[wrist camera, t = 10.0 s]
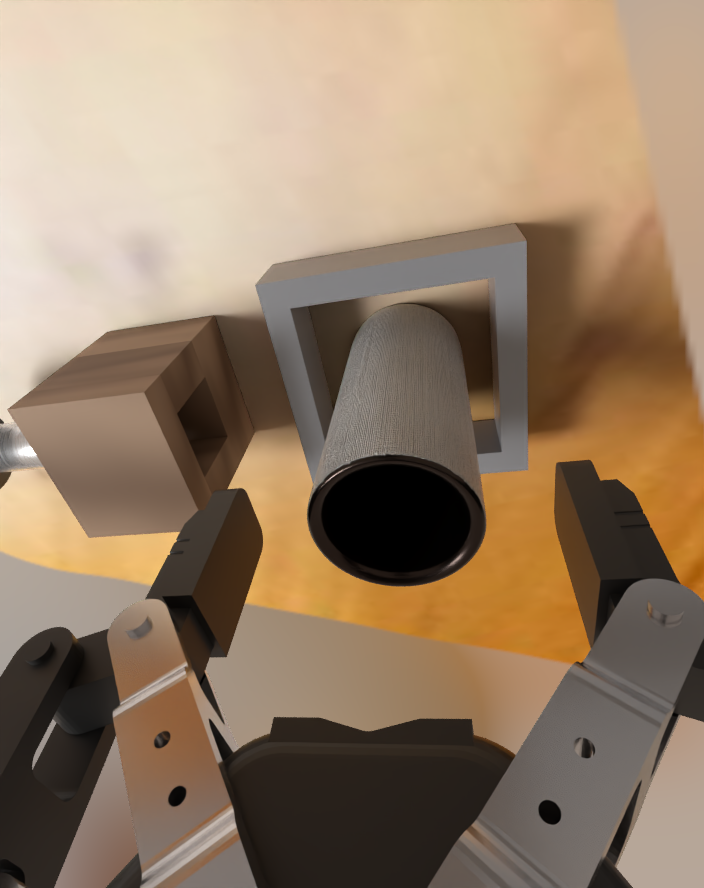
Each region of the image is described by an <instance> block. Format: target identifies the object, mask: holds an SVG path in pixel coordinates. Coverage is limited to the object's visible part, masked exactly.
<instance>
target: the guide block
mask: <svg viewBox="0 0 704 888" xmlns="http://www.w3.org/2000/svg"><path fill="white" fill-rule="evenodd" d="M7 410H8V412H9V413H10V415H11V416H12V418H13V419H14V421H15V423H16V424H17V426H18V427H19V429H20V430H21V432H22V434H23V435H24V437H25V438H26V440H27V441H28V443H29V445H30V446H31V448H32V449H33V451H34V452H35V454H36V456H37V457H38V459H39V460H40V462H41V463H42V465H43V467H44V468H45V470H46V471H47V473H48V474H49V476H50V478H51V479H52V481H53V482H54V484H55V485H56V487H57V489H58V490H59V492H60V493H61V495H62V496H63V498H64V500H65V501H66V503H67V504H68V506H69V507H70V509H71V511H72V512H73V514H74V515H75V517H76V518H77V520H78V522H79V523H80V525H81V526H82V528H83V529H84V531H85V533H86V534H87V536H88V537H89V538H91V537H106V536H121V535H136V534H152V533H167V532H181V530H182V528H183V526H184V524H185V523H186V522H187V521H188V520H189V519H190V518H191V517H192V516H193V515H194V514H195V513H196V512H197V511H198V510H205V508H206V506H207V504H208V502H209V500H210V498H211V496H212V494H213V492H214V491H216V490H227V488H228V486H229V484H230V482H231V480H232V478H233V476H234V474H235V472H236V470H237V468H238V466H239V464H240V462H241V460H242V458H243V456H244V454H245V451H246V449H247V447H248V445H249V443H250V441H251V439H252V437H253V435H254V433H255V432H254V429H253V426H252V423H251V420H250V417H249V414H248V412H247V409H246V406H245V403H244V400H243V397H242V394H241V391H240V388H239V386H238V383H237V380H236V377H235V374H234V371H233V368H232V365H231V362H230V360H229V357H228V354H227V351H226V348H225V345H224V342H223V339H222V336H221V334H220V331H219V328H218V325H217V322H216V319H215V316H208V317H201V318H195V319H188V320H182V321H175V322H169V323H162V324H156V325H149V326H143V327H136V328H130V329H123V330H117V331H110V332H107V333H105V334H104V335H103V336H102V337H100V338H99V339H98V340H96V341H95V342H94V343H92V344H91V345H90V346H89V347H87V348H86V349H85V350H83V351H82V352H81V353H80V354H78V355H77V356H76V357H74V358H73V359H72V360H71V361H69V362H68V363H67V364H65V365H64V366H63V367H62V368H60V369H59V370H58V371H56V372H55V373H54V374H52V375H51V376H50V377H49V378H47V379H46V380H45V381H43V382H42V383H41V384H40V385H38V386H37V387H36V388H34V389H33V390H32V391H31V392H29V393H28V394H27V395H25V396H24V397H23V398H22V399H20V400H19V401H18V402H16V403H15V404H14V405H12V406H11V407H10V408H9V409H7Z"/></svg>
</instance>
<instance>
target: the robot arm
mask: <svg viewBox="0 0 704 888" xmlns="http://www.w3.org/2000/svg"><path fill="white" fill-rule="evenodd" d="M554 514H555V524H556V530H557V534H558V538H559V541H560V545H561V548H562V552H563V555H564V558H565V562H566V565H567V569H568V572H569V575H570V579H571V582H572V586H573V589H574V592H575V596H576V599H577V603H578V606H579V609H580V613H581V616H582V620H583V623H584V626H585V630H586V633H587V637H588V640H589V643H590V647H591V650H590V652H589V653H588V655H587V657H586V658H585V660H584V661H583V662H582V663H580V662H575V663H574V664H573V665H572V666H571V667H570V669H569V670H568V671H567V673H566V674H565V676H564V678H563V679H562V681H561V683H560V684H559V686H558V687H557V689H556V691H555V693H554V694H553V696H552V697H551V699H550V701H549V702H548V704H547V706H546V707H545V709H544V710H543V712H542V714H541V715H540V717H539V718H538V720H537V722H536V723H535V725H534V727H533V728H532V730H531V732H530V733H529V735H528V736H527V738H526V740H525V741H524V743H523V745H522V746H521V748H520V750H519V751H518V753H517V754H516V755H515V754H514V753H512V752H511V751H509V750H508V749H506V748H504V747H503V746H501V745H499V744H497V743H495V742H492V741H490V740H488V739H486V738H483V737H479V736H475V735H474V733H473V725H472V719H417V720H413V721H410V722H406V723H402V724H398V725H394V726H390V727H386V728H383V729H379V730H375V731H369V732H368V731H362V730H359V729H355V728H352V727H349V726H345V725H342V724H338V723H335V722H332V721H329V720H326V719H322V718H297V717H293V718H292V717H290V718H289V717H287V718H286V717H274V719H273V724H272V728H271V732H270V734H267V735H264V736H262V737H259V738H257V739H254V740H253V741H251V742H249V743H247V744H245V745H243V746H242V747H241V748H239V747H238V745H237V743H236V741H235V739H234V737H233V735H232V733H231V730H230V728H229V725H228V723H227V720H226V718H225V715H224V713H223V710H222V708H221V705H220V703H219V700H218V697H217V695H216V692H215V690H214V687H213V685H212V682H211V680H210V677H209V675H208V673H207V671H206V666H207V663H208V661H209V658H210V657H227V654H228V651H229V648H230V645H231V642H232V639H233V636H234V633H235V630H236V627H237V624H238V621H239V618H240V615H241V612H242V609H243V606H244V603H245V600H246V597H247V594H248V591H249V588H250V585H251V582H252V579H253V576H254V573H255V570H256V567H257V564H258V561H259V558H260V555H261V552H262V547H263V535H262V530H261V527H260V524H259V522H258V519H257V517H256V514H255V512H254V509H253V507H252V505H251V502H250V500H249V497H248V495H247V493H246V491H245V490H244V489H242V488H239V489H227V490H216V491H214V492H213V494H212V496H211V498H210V500H209V502H208V504H207V506H206V508H205V510H198V511H197V512H196V513H195V514H194V515H193V516H192V517H191V518H190V519H189V520H188V521H187V522H186V523H185V524H184V526H183V528H182V530H181V532H180V534H179V535H178V537H177V539H176V540H177V542H175V543H174V545H173V547H172V549H171V551H170V555H168V557H167V558H166V560H165V562H164V564H163V566H162V568H161V570H160V572H159V574H158V576H157V578H156V579H155V581H154V583H153V585H152V587H151V589H150V591H149V593H148V595H147V597H146V599H145V600H142V601H139V602H136V603H134V604H132V605H130V606H129V607H127V608H126V609H125V610H123V611H122V612H121V613H120V614H119V615H118V616H117V617H116V618H115V619H114V621H113V622H112V624H111V626H110V628H109V629H106V630H103V631H100V632H97V633H94V634H91V635H88V636H85V637H82V638H79V639H76V638H75V636H74V635H73V634H72V633H71V632H70V631H69V630H68V629H66V628H63V627H55V628H51V629H47V630H45V631H42V632H40V633H38V634H37V635H35V636H34V637H32V638H31V639H29V640H28V641H27V642H26V643H25V644H24V645H22V647H21V648H20V649H19V650H18V651H17V652H16V654H15V655H14V656H13V658H12V660H11V661H10V663H9V664H8V666H7V667H6V669H5V670H4V672H3V674H2V675H1V677H0V888H54V886H55V884H56V881H57V879H58V876H59V874H60V871H61V869H62V867H63V864H64V862H65V859H66V857H67V854H68V852H69V849H70V847H71V844H72V842H73V840H74V837H75V835H76V832H77V830H78V827H79V825H80V822H81V820H82V817H83V815H84V812H85V810H86V808H87V805H88V803H89V800H90V798H91V795H92V793H93V790H94V788H95V785H96V783H97V780H98V778H99V776H100V773H101V770H102V768H103V766H104V763H105V761H106V758H107V756H108V754H109V751H110V749H111V746H112V744H113V741H114V739H115V736H116V737H117V742H118V748H119V753H120V758H121V763H122V769H123V774H124V780H125V785H126V790H127V795H128V800H129V806H130V811H131V817H132V821H133V827H134V832H135V837H136V843H137V848H138V854H137V855H136V856H135V857H134V858H133V859H132V860H131V861H130V862H129V863H128V864H127V865H126V866H125V868H124V869H123V870H122V871H121V872H120V873H119V874H118V875H117V876H116V877H115V878H114V879H113V880H112V882H111V883H110V884H109V885H108V886H107V887H106V888H633V887H632V886H631V885H630V884H629V883H628V881H627V880H626V879H625V878H624V877H623V876H622V874H621V873H620V872H619V871H618V870H617V868H616V867H617V865H618V863H619V861H620V858H621V856H622V853H623V851H624V849H625V847H626V844H627V842H628V840H629V837H630V835H631V833H632V830H633V828H634V826H635V823H636V821H637V818H638V816H639V813H640V811H641V808H642V805H643V803H644V800H645V797H646V794H647V792H648V789H649V787H650V785H651V782H652V780H653V777H654V775H655V773H656V771H657V768H658V766H659V764H660V761H661V759H662V757H663V755H664V752H665V750H666V748H667V745H668V743H669V741H670V738H671V736H672V734H673V732H674V729H675V727H676V725H677V722H678V720H679V718H680V716H681V715H682V716H686V717H689V718H693V719H696V720H700V721H703V722H704V602H703V600H702V599H701V598H700V597H699V596H698V595H697V594H695V593H694V592H693V591H692V590H690V589H688V588H687V587H685V586H683V585H681V584H680V582H679V581H678V579H677V577H676V575H675V573H674V571H673V569H672V567H671V565H670V563H669V561H668V559H667V557H666V555H665V553H664V551H663V550H662V548H661V546H660V544H659V542H658V540H657V538H656V536H655V534H654V532H653V530H652V528H650V524H649V522H648V520H647V518H646V516H645V514H643V510H642V508H641V506H640V504H639V502H638V500H637V498H636V496H635V494H634V493H633V492H632V491H631V490H629V489H628V488H627V487H626V486H625V485H623V484H622V483H621V482H620V481H618V480H617V479H615V480H602V481H600V479H599V477H598V475H597V472H596V470H595V468H594V465H593V463H592V462H591V460H582V461H570V462H558V463H557V464H556V474H555V505H554ZM52 719H54V720H55V722H56V725H55V727H54V729H53V731H52V733H51V735H50V737H49V739H48V741H47V743H46V745H45V747H44V749H43V751H42V752H41V754H40V756H39V758H38V760H37V762H36V764H35V766H34V768H33V770H32V761H33V757H34V754H35V752H36V750H37V748H38V746H39V744H40V742H41V740H42V738H43V736H44V734H45V732H46V730H47V728H48V727H49V724H50V723H51V721H52Z"/></svg>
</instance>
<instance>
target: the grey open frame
mask: <svg viewBox="0 0 704 888" xmlns="http://www.w3.org/2000/svg"><path fill="white" fill-rule="evenodd" d="M481 279H488V288H489V310H490V331H491V353H492V374H493V396H494V417H495V419H493V420H483V421H473V422H472V423H473V430H474V437H475V443H476V450H477V457H478V464H479V471H480V474H485V473H497V472H510V471H522V470H528V380H527V240H526V239H525V237H524V236H523V234H522V233H521V231H520V230H519V228H518V227H517V226H516V224H515V223H514V224H508V225H502V226H496V227H490V228H485V229H479V230H473V231H467V232H461V233H455V234H449V235H444V236H438V237H432V238H426V239H420V240H414V241H409V242H403V243H397V244H391V245H385V246H379V247H373V248H368V249H362V250H356V251H350V252H344V253H338V254H332V255H327V256H321V257H315V258H309V259H303V260H297V261H291V262H286V263H280V264H274V265H272V266H271V267H270V268H269V269H268V271H267V272H266V273H265V274H264V275H263V276H262V278H261V279H260V280H259V281H258V282H257V284H256V285H255V286H256V289H257V292H258V296H259V299H260V303H261V306H262V310H263V313H264V316H265V320H266V323H267V327H268V330H269V334H270V337H271V340H272V344H273V347H274V351H275V354H276V358H277V361H278V364H279V368H280V371H281V375H282V378H283V382H284V385H285V388H286V392H287V395H288V399H289V402H290V406H291V409H292V412H293V416H294V419H295V423H296V426H297V430H298V433H299V436H300V440H301V443H302V447H303V450H304V454H305V457H306V460H307V464H308V467H309V471H310V474H311V478H312V481H313V484H314V481H315V477H316V473H317V470H318V466H319V463H320V459H321V455H322V452H323V448H324V444H325V441H326V437H327V433H328V430H329V426H330V423H331V419H332V415H333V412H334V411H333V406H332V402H331V398H330V394H329V390H328V386H327V382H326V377H325V373H324V369H323V365H322V361H321V357H320V353H319V348H318V344H317V340H316V336H315V332H314V328H313V324H312V319H311V315H310V311H309V307H308V306H310V305H317V304H324V303H330V302H337V301H343V300H350V299H356V298H363V297H370V296H376V295H383V294H389V293H396V292H403V291H409V290H416V289H422V288H429V287H435V286H442V285H449V284H455V283H462V282H468V281H475V280H481Z"/></svg>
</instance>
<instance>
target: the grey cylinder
mask: <svg viewBox="0 0 704 888" xmlns="http://www.w3.org/2000/svg"><path fill="white" fill-rule="evenodd" d="M307 521H308V527H309V531H310V533H311V536H312V538H313V540H314V542H315V544H316V545H317V547H318V548H319V550H320V551H321V552H322V554H323V555H324V556H325V557H326V558H327V559H328V560H329V561H330V562H332V563H333V564H334V565H335V566H337V567H338V568H340V569H341V570H343V571H344V572H346V573H348V574H350V575H352V576H354V577H356V578H359V579H361V580H364V581H368V582H371V583H375V584H380V585H387V586H416V585H423V584H427V583H431V582H435V581H438V580H441V579H443V578H445V577H447V576H449V575H451V574H453V573H455V572H456V571H458V570H459V569H461V568H462V567H463V566H465V565H466V564H467V563H468V562H469V561H470V560H471V559H472V558H473V557H474V555H475V554H476V553H477V551H478V549H479V548H480V546H481V544H482V542H483V539H484V536H485V531H486V513H485V505H484V498H483V491H482V484H481V477H480V471H479V464H478V457H477V450H476V443H475V437H474V430H473V423H472V416H471V409H470V403H469V396H468V389H467V382H466V375H465V368H464V362H463V355H462V349H461V345H460V342H459V339H458V336H457V334H456V332H455V330H454V328H453V327H452V325H451V324H450V323H449V322H448V321H447V320H446V319H445V318H444V317H443V316H442V315H440V314H439V313H438V312H436V311H434V310H432V309H430V308H428V307H425V306H421V305H416V304H397V305H392V306H389V307H386V308H384V309H381V310H379V311H378V312H376V313H374V314H373V315H372V316H370V317H369V318H368V319H367V320H366V321H365V322H364V323H363V324H362V326H361V327H360V329H359V330H358V332H357V334H356V336H355V339H354V341H353V344H352V347H351V350H350V354H349V357H348V361H347V365H346V368H345V372H344V375H343V379H342V383H341V386H340V390H339V394H338V397H337V401H336V404H335V408H334V412H333V415H332V419H331V423H330V426H329V430H328V433H327V437H326V441H325V444H324V448H323V452H322V455H321V459H320V463H319V466H318V470H317V473H316V477H315V481H314V484H313V488H312V492H311V495H310V499H309V503H308V509H307Z"/></svg>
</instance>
